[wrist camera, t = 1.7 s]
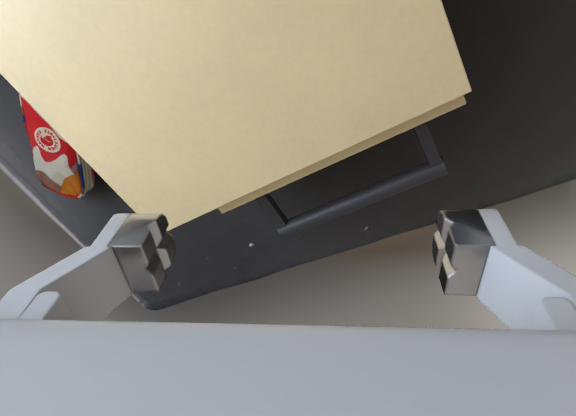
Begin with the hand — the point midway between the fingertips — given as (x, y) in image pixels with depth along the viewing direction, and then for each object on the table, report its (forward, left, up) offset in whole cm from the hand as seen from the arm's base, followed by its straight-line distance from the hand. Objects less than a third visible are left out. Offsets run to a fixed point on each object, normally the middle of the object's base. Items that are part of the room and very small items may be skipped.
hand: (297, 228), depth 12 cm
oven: (+6, -3, -37) cm, 38 cm away
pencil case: (+36, -4, -37) cm, 52 cm away
